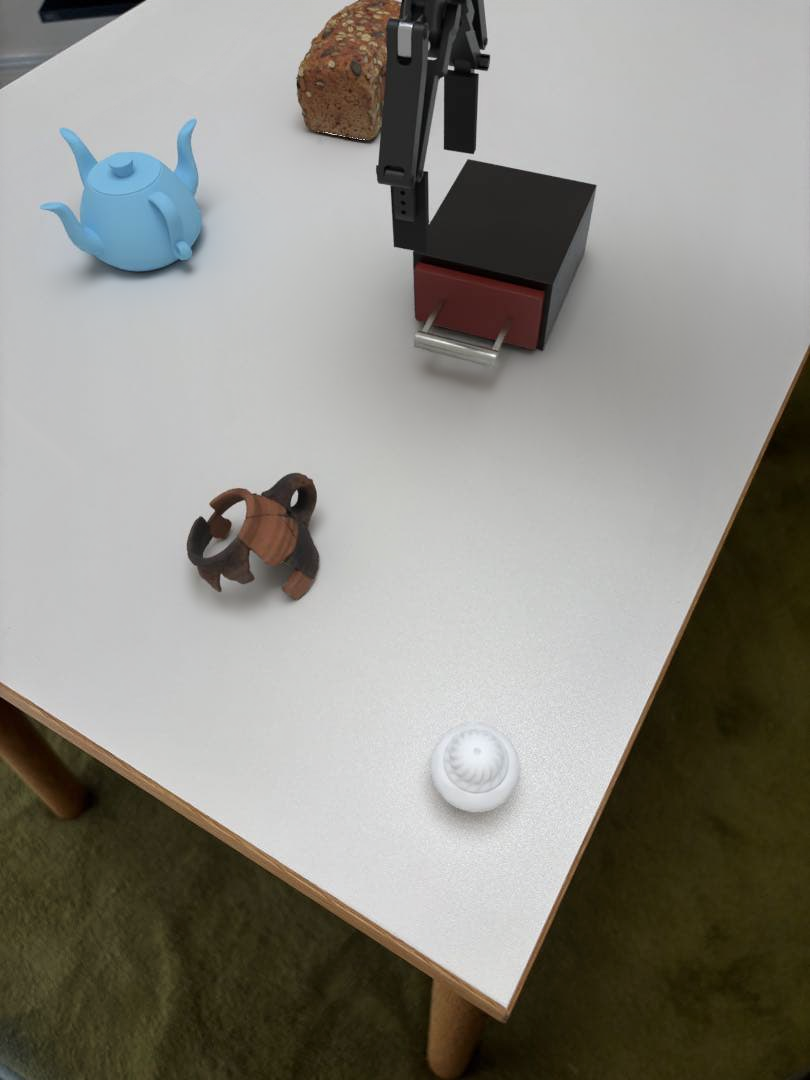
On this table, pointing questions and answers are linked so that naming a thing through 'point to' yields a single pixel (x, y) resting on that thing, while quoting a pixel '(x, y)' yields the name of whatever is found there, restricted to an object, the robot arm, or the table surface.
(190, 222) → the teapot
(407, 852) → the table surface
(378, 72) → the bread
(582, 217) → the drawer box
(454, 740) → the muffin
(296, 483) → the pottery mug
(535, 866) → the table surface
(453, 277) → the red drawer
